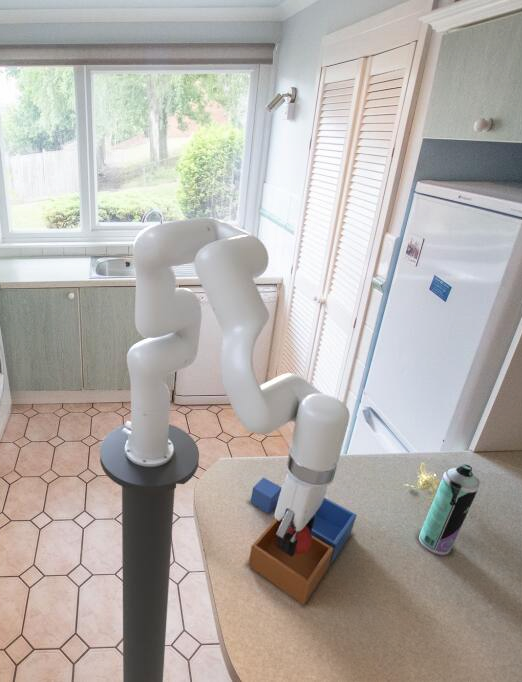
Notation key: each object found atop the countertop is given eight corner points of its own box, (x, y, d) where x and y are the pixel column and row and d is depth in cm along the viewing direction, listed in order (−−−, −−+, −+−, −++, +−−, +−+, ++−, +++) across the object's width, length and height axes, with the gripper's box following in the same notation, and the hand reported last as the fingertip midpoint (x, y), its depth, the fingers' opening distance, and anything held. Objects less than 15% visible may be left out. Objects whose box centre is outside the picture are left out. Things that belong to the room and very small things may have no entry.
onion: (272, 536, 88) (279, 506, 84) (303, 539, 87) (311, 508, 84) (278, 562, 82) (285, 531, 79) (311, 565, 82) (319, 534, 78)
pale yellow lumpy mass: (465, 517, 101) (488, 483, 99) (434, 520, 93) (457, 484, 91) (417, 483, 110) (436, 452, 108) (384, 484, 102) (404, 450, 100)
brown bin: (248, 565, 87) (251, 545, 84) (274, 534, 93) (278, 514, 91) (303, 605, 80) (309, 584, 77) (328, 568, 86) (333, 548, 84)
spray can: (451, 559, 88) (487, 481, 79) (418, 547, 91) (450, 470, 82) (449, 539, 92) (483, 463, 84) (418, 528, 95) (448, 453, 86)
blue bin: (276, 531, 94) (280, 512, 92) (299, 505, 101) (303, 486, 98) (330, 565, 87) (336, 545, 84) (350, 534, 93) (356, 514, 91)
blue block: (250, 502, 101) (252, 487, 99) (260, 492, 104) (263, 477, 102) (268, 513, 98) (271, 498, 96) (278, 502, 101) (281, 487, 99)
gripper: (312, 432, 83) (296, 504, 91) (264, 479, 72) (251, 556, 80) (354, 450, 79) (333, 525, 87) (309, 504, 68) (290, 584, 76)
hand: (293, 539), depth 83 cm, fingers closed on onion, 5 cm apart
